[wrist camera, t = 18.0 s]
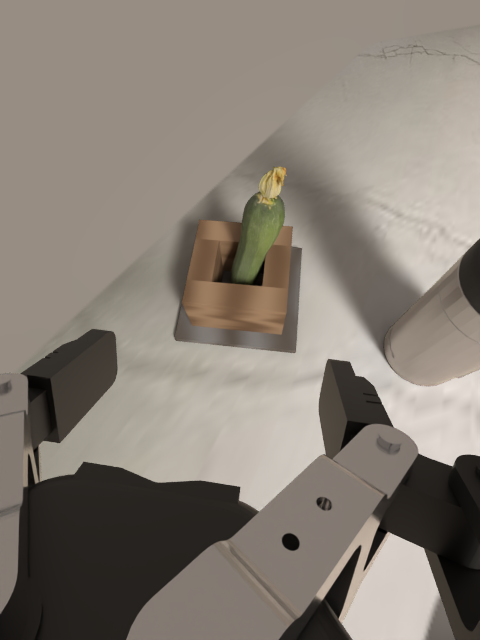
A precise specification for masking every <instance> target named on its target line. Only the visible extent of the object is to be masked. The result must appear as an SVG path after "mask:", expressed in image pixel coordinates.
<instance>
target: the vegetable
mask: <svg viewBox="0 0 480 640" xmlns="http://www.w3.org/2000/svg"><path fill="white" fill-rule="evenodd" d="M284 175H286V168H284V167H283V168H282V167H280V166H279V167H273V170H270V171H269V172H268V173H266V174H265V175H264V176H263V178H262V179H261V181H260V184H259V191H260V192H258V193H256V194H255V195H253V196H252V197H251V198H250V200H249V201H248V202H247V204H246V206H245V208H244V213H243V219H242V226H241V235H240V240H239V244H238V248H237V252H236V255H235V258H234V261H233V264H232V269H231V276H230V284H241V285H252V286H254V285H255V282H256V280H257V277H258V275H259V273H260V270H261V267H262V264H263V261H264V259H265V256H266V254H267V252H268V250H269V249H270V248H271V246H272V245H273V244H274V242H275V241H276V239H277V237H278V235H279V233H280V231H281V228H282V226H283V223H284V218H285V208H284V203H283V201H282V199H281V198H280V196H279V193H280V191H281V185H282V186H284V185H283V181H284ZM286 176H287V175H286Z"/></svg>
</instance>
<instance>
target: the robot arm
mask: <svg viewBox="0 0 480 640" xmlns="http://www.w3.org/2000/svg"><path fill="white" fill-rule="evenodd" d="M384 351H385V355H386V358H387V360H388V362H389V364H390V365H391V367H392V368H393V370H394V371H395V372H396V373H397V374H398V375H400V376H401V377H402V378H404V379H405V380H407V381H409V382H411V383H413V384H417V385H420V386H436V385H439V384H442V383H444V382H447V381H449V380H451V379H454V378H461V377H463V376H465V375H468V374H470V373H472V372H475V371H477V370H479V369H480V239H479V240H478V241H477V242H476V243H475V244H474V245H473V246H472V247H471V248H470V249H469V250H468V251H467V252H466V253H465V254H464V255H463V256H462V257H461V258H460V259H459V260H458V261H457V262H456V263H455V264H454V265H453V266H452V267H451V268H450V269H449V270H448V271H447V272H446V273H445V274H444V275H443V276H442V277H441V278H440V279H439V280H438V281H437V282H436V283H435V284H434V285H433V286H432V287H431V288H430V289H429V290H428V291H427V292H426V293H425V294H424V295H423V296H422V297H421V298H420V299H419V300H418V301H417V302H416V303H415V304H414V305H413V306H412V307H411V308H410V309H409V310H408V311H407V312H406V313H405V314H404V315H403V316H402V317H401V318H400V319H399V320H398V321H397V322H396V323H395V324H394V325H393V326H392V327H391V328H390V329H389V331H388V332H387V334H386V337H385V340H384ZM116 375H117V353H116V337H115V334H114V332H112V331H105V330H97V329H91V330H90V331H88V332H87V333H85V334H84V335H83V336H81V337H80V338H78V339H77V340H74V341H71V342H69V343H66V344H63V345H62V346H60V347H59V348H57V349H56V350H54V351H53V353H50V354H48V355H47V356H46V357H45V358H43V359H41V360H40V361H38V362H37V363H35V364H34V365H32V366H31V367H29V368H28V369H26V370H25V371H24V372H22V373H21V374H18V373H4V374H0V640H352V638H351V637H350V635H349V634H348V633H347V631H346V630H345V628H344V627H343V625H342V622H343V620H344V618H345V617H346V615H347V613H348V611H349V609H350V606H351V604H352V602H353V600H354V597H355V595H356V593H357V591H358V589H359V587H360V585H361V583H362V581H363V579H364V578H365V576H366V574H367V572H368V571H369V569H370V567H371V566H372V564H373V562H374V560H375V559H376V557H377V555H378V553H379V552H380V550H381V548H382V547H383V545H384V543H385V541H386V540H387V538H388V536H389V535H390V533H392V534H394V535H396V536H398V537H401V538H403V539H405V540H407V541H409V542H412V543H414V544H416V545H418V546H420V547H423V548H424V550H425V553H426V555H427V558H428V561H429V564H430V567H431V570H432V573H433V576H434V579H435V582H436V585H437V588H438V591H439V593H440V596H441V599H442V602H443V605H444V608H445V611H446V614H447V617H448V620H449V622H450V626H451V628H452V631H453V634H454V637H455V640H480V456H476V455H461V456H459V457H458V458H457V459H456V461H455V463H454V465H453V467H452V466H449V465H446V464H444V463H441V462H438V461H435V460H432V459H430V458H427V457H425V456H422V455H420V454H418V448H417V446H416V444H415V442H414V441H413V440H412V439H411V438H410V437H409V436H408V435H406V434H405V433H403V432H402V431H400V430H398V429H396V428H394V427H393V425H392V423H391V421H390V419H389V417H388V415H387V413H386V411H385V408H384V406H383V405H382V402H381V400H380V398H379V397H378V394H377V392H376V390H375V388H374V386H373V385H372V384H371V383H370V382H369V381H368V380H366V379H365V378H364V377H359V376H355V373H354V371H353V368H352V366H351V363H350V362H348V361H340V360H332V359H328V361H327V363H326V367H325V372H324V377H323V383H322V388H321V393H320V398H319V416H320V422H321V428H322V434H323V440H324V446H325V452H326V455H325V454H323V455H321V456H319V457H318V458H317V459H316V460H315V461H313V462H312V463H311V464H310V465H309V466H308V467H307V468H306V469H305V470H304V471H303V472H302V473H301V474H300V475H298V476H297V477H296V478H295V479H294V480H293V481H292V482H291V483H290V484H289V485H288V486H287V487H286V488H284V489H283V490H282V491H281V492H280V493H279V494H278V495H277V496H276V497H275V498H274V499H273V500H272V501H271V502H269V503H268V504H267V505H266V506H265V507H264V508H263V509H262V510H261V511H260V512H259V511H257V510H256V509H255V508H253V507H251V506H249V505H248V504H246V503H243V502H241V501H239V494H240V487H237V486H231V485H225V484H219V483H213V482H206V481H184V482H166V483H157V482H153V481H151V480H148V479H146V478H144V477H141V476H139V475H137V474H134V473H132V472H130V471H127V470H125V469H123V468H119V467H113V466H107V465H100V464H94V463H88V462H83V464H82V465H81V466H80V468H79V469H78V470H77V472H76V473H75V474H73V475H65V476H59V477H55V478H50V479H47V480H44V481H42V477H41V455H40V448H39V444H40V443H41V442H42V441H49V442H56V443H60V442H61V441H62V440H63V439H64V438H65V437H66V436H67V435H68V434H69V432H70V431H71V430H72V429H73V428H74V427H75V426H76V425H77V423H78V422H79V421H80V420H81V419H82V418H83V417H84V416H85V415H86V413H87V412H88V411H89V410H90V409H91V408H92V407H93V406H94V405H95V403H96V402H97V401H98V400H99V399H100V398H101V397H102V396H103V394H104V393H105V392H106V391H107V390H108V389H109V388H110V387H111V386H112V384H113V383H114V381H115V379H116Z"/></svg>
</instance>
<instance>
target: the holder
mask: <svg viewBox="0 0 480 640" xmlns="http://www.w3.org/2000/svg"><path fill="white" fill-rule="evenodd" d="M241 226H242V223H237V222H223V221H210V220H199V225H198V229H197V234H196V239H195V243H194V248H193V253H192V257H191V262H190V267H189V271H188V276H187V281H186V285H185V290H184V295H183V299H182V306H181V310H180V315H179V320H178V324H177V329H176V334H175V340H176V341H184V342H194V343H203V344H213V345H223V346H232V347H242V348H251V349H261V350H270V351H280V352H290V353H295V352H296V341H297V324H298V306H299V289H300V271H301V254H302V248H294V247H291V243H292V229H293V227H290V226H282V228H281V231H280V233H279V235H278V237H277V239H276V241H275V242H274V244H273V245H272V246H271V248H270V249H269V250H268V252H267V254H266V256H265V259H264V261H263V264H262V267H261V270H260V273H259V275H258V277H257V280H256V282H255V285H254V286H252V285H241V284H230V276H231V269H232V264H233V261H234V258H235V255H236V252H237V248H238V244H239V240H240V235H241Z"/></svg>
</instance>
